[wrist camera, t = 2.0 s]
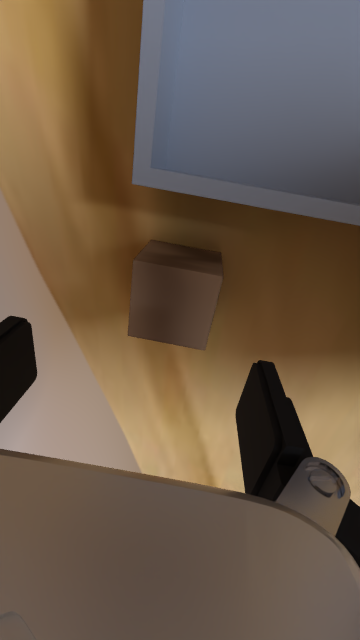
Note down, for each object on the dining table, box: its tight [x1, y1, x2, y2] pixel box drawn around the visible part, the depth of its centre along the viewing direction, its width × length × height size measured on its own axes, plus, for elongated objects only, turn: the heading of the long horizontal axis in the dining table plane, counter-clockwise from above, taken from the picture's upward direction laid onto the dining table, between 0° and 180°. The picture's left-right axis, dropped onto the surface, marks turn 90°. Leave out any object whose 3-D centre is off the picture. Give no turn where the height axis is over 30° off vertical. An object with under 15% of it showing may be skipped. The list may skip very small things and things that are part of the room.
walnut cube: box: [128, 240, 223, 350], centre depth 18 cm, size 5×5×5 cm
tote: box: [132, 0, 360, 226], centre depth 12 cm, size 18×14×5 cm
